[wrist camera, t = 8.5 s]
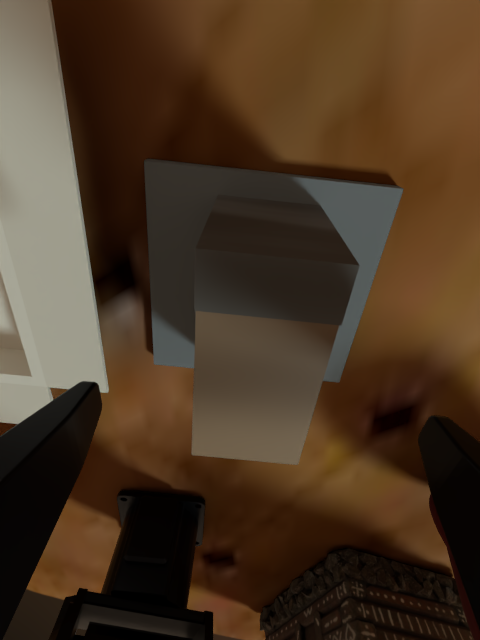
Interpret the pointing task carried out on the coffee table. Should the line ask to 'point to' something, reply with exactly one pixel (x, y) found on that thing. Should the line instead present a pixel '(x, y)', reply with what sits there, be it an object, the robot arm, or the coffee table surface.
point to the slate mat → (210, 181)
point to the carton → (40, 225)
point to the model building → (367, 603)
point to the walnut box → (264, 325)
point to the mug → (456, 577)
